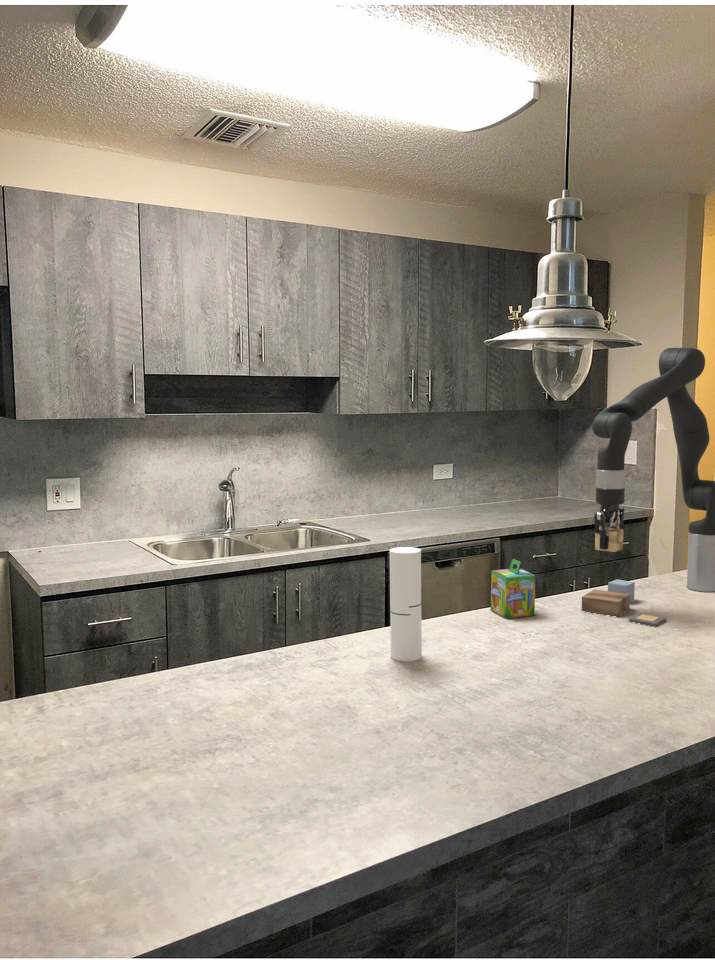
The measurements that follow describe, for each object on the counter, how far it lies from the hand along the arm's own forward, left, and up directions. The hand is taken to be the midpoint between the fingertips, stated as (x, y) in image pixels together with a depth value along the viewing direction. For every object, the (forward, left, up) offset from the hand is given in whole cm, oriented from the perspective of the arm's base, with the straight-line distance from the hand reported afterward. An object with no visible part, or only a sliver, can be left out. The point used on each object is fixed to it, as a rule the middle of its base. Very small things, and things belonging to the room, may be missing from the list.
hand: (608, 547), depth 209 cm
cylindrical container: (+65, -19, -18) cm, 70 cm away
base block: (0, -1, -18) cm, 18 cm away
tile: (+3, +12, -18) cm, 22 cm away
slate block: (-12, -2, -18) cm, 22 cm away
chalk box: (+19, -19, -18) cm, 32 cm away
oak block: (0, 0, -1) cm, 1 cm away
